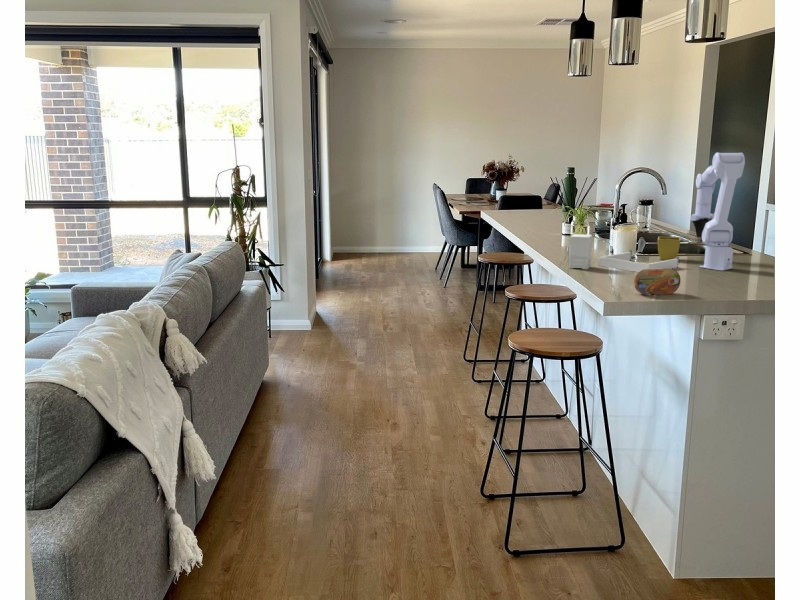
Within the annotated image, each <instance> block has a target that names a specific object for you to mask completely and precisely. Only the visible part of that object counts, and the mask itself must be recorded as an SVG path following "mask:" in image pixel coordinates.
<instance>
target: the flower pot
mask: <svg viewBox="0 0 800 600" xmlns="http://www.w3.org/2000/svg"><path fill="white" fill-rule="evenodd" d="M657 237H658V238H657V252H658V256H659V258H660V260H661V261H666V260H671V259H676V256H678V254H679V249H680V247H681V246H680V245H681V237H679V236H678V237H677V236H657Z"/></svg>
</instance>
